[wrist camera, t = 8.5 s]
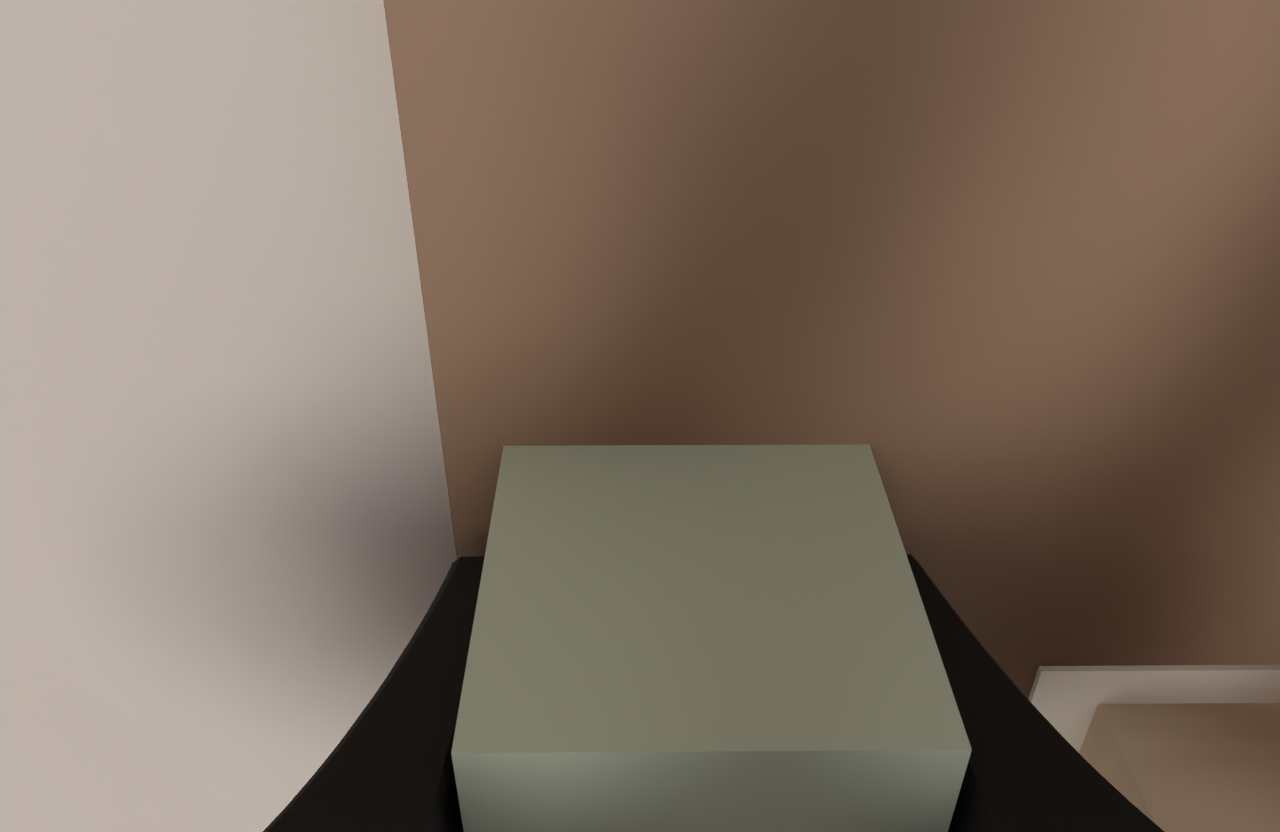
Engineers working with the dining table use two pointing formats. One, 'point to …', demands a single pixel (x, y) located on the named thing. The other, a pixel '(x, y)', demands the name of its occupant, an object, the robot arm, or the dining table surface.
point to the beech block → (1192, 763)
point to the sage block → (702, 649)
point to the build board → (890, 288)
